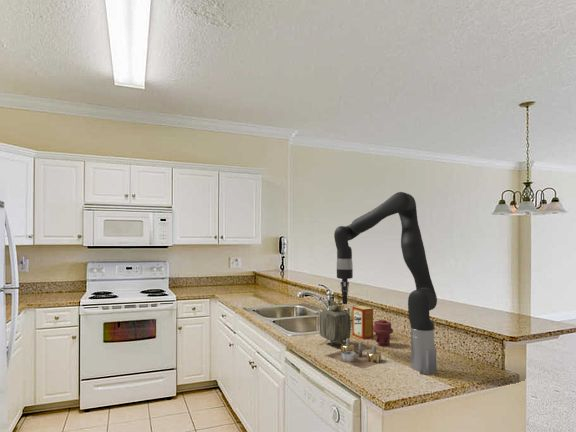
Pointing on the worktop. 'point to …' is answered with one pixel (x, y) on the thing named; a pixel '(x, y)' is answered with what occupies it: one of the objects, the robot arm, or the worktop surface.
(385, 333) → the mechanical component
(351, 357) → the steel gear
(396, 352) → the worktop surface
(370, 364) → the gear board
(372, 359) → the gear
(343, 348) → the gear
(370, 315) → the baking soda box
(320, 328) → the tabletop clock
